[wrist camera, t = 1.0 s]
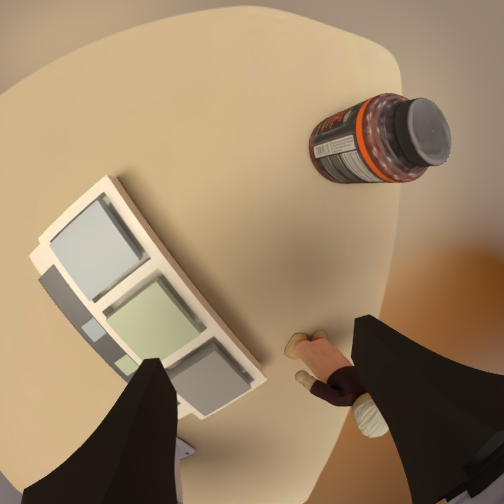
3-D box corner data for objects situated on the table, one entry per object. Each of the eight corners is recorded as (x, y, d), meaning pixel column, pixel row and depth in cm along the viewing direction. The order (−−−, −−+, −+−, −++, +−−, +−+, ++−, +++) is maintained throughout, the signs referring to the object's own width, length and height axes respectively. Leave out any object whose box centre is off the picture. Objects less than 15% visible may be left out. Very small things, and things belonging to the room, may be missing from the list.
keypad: (177, 413, 24) (178, 432, 21) (34, 254, 18) (18, 261, 15) (259, 363, 25) (267, 380, 22) (116, 177, 19) (106, 174, 16)
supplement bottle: (339, 107, 22) (429, 68, 11) (374, 161, 24) (471, 152, 13) (292, 141, 22) (378, 103, 11) (332, 197, 23) (431, 204, 12)
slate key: (95, 294, 18) (89, 301, 16) (57, 241, 16) (48, 245, 15) (143, 256, 18) (140, 260, 17) (103, 199, 17) (97, 199, 15)
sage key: (151, 358, 20) (150, 368, 18) (109, 312, 18) (105, 320, 17) (199, 325, 20) (200, 334, 19) (157, 275, 19) (155, 281, 17)
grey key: (203, 406, 21) (204, 416, 20) (165, 372, 20) (165, 382, 19) (247, 378, 22) (251, 388, 20) (213, 341, 20) (215, 350, 19)
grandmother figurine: (275, 369, 25) (333, 466, 13) (273, 336, 24) (340, 433, 12) (345, 349, 27) (422, 421, 15) (346, 317, 26) (435, 384, 14)
